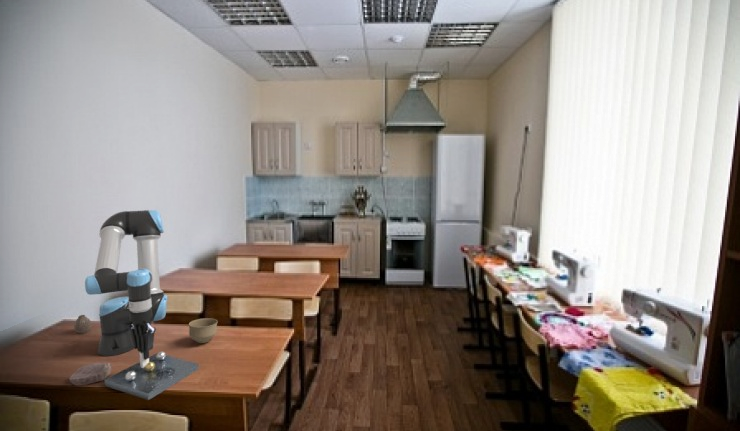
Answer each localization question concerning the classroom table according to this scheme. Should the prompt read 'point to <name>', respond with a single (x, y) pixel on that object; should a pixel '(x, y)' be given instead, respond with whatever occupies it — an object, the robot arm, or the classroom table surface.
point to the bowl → (203, 329)
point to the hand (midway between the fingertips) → (144, 366)
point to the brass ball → (150, 366)
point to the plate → (152, 377)
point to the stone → (91, 373)
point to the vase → (82, 324)
